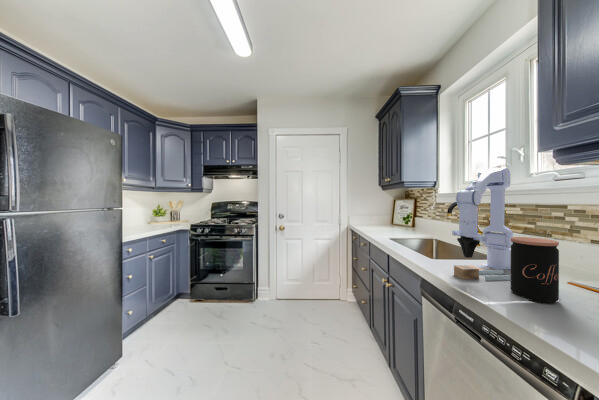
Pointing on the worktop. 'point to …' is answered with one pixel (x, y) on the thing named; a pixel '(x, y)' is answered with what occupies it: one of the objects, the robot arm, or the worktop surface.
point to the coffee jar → (535, 269)
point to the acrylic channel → (489, 275)
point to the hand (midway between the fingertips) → (468, 257)
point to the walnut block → (466, 272)
